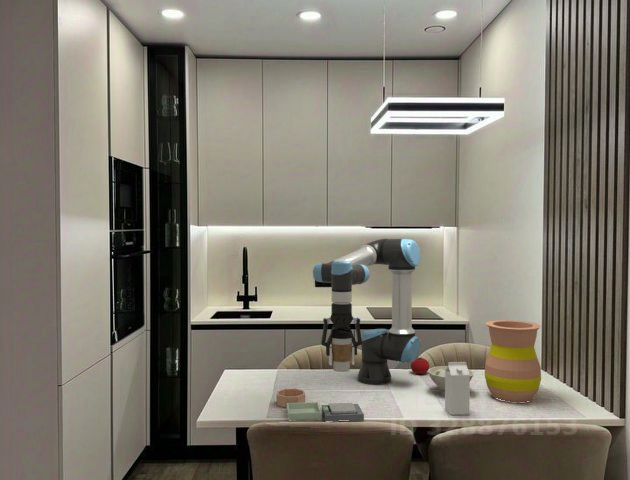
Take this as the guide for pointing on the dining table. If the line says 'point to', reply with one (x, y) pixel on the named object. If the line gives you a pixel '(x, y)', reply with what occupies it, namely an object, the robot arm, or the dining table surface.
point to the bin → (290, 397)
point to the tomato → (420, 366)
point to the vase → (513, 361)
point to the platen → (342, 408)
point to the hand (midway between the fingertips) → (341, 364)
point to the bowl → (441, 376)
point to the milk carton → (457, 388)
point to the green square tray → (304, 411)
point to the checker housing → (336, 417)
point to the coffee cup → (341, 349)
